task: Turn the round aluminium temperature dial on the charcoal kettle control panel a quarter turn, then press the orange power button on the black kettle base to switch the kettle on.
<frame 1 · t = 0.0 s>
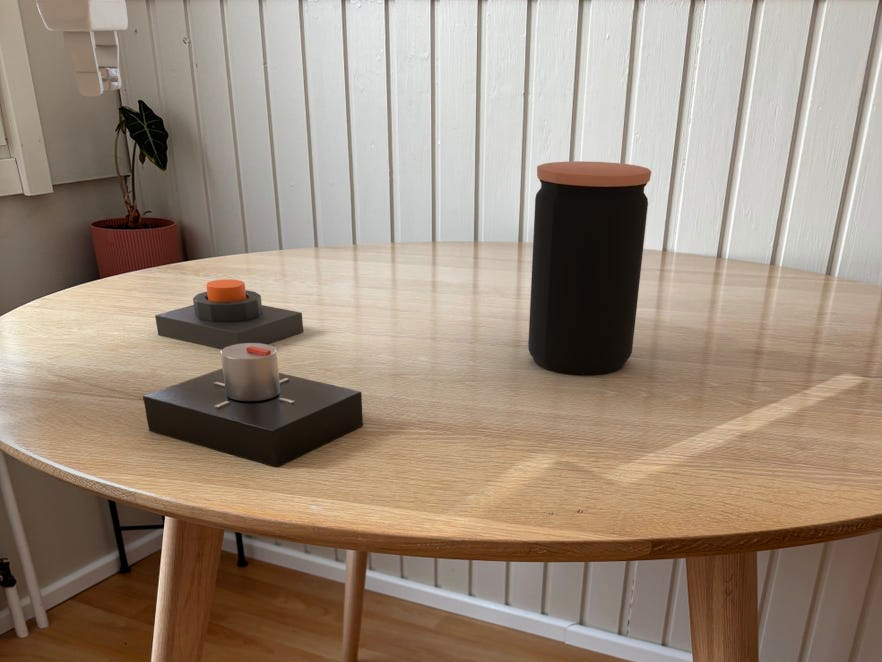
hand: (102, 92, 83), 23 cm above the table, tool pointing down, fingers open, 8 cm apart
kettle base: (231, 334, 103), on the table
coffee jar: (578, 363, 97), on the table
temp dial: (250, 370, 76), point 5 cm above the table, hinge at 0.0°
power button: (226, 291, 100), point 4 cm above the table, slide at 0.1 cm
dial panel: (257, 428, 79), on the table
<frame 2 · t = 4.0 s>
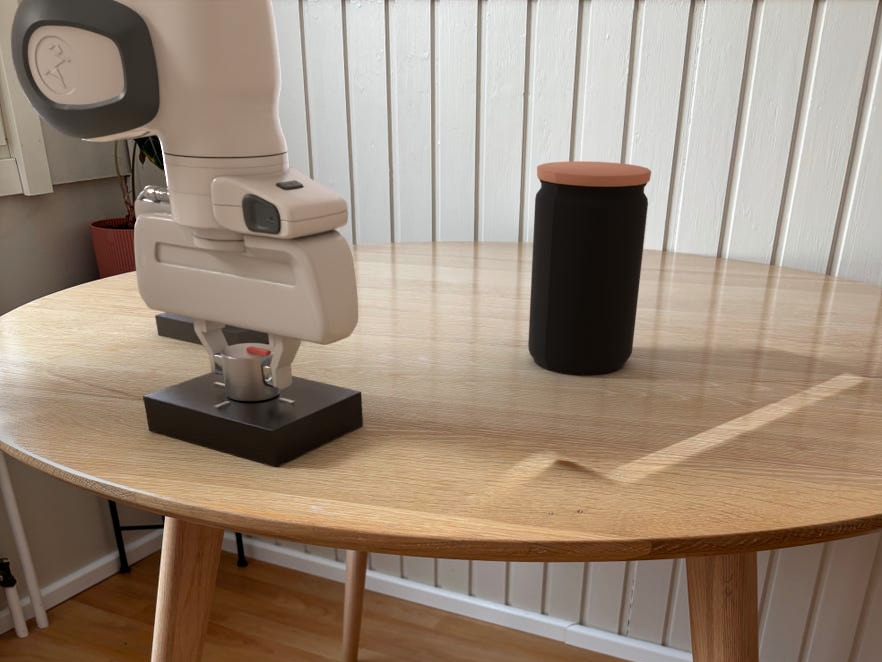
hand: (252, 380, 77), 4 cm above the table, tool pointing down, fingers closed on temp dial, 4 cm apart
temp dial: (250, 370, 76), point 5 cm above the table, hinge at 0.0°, touching gripper
everything else where it was.
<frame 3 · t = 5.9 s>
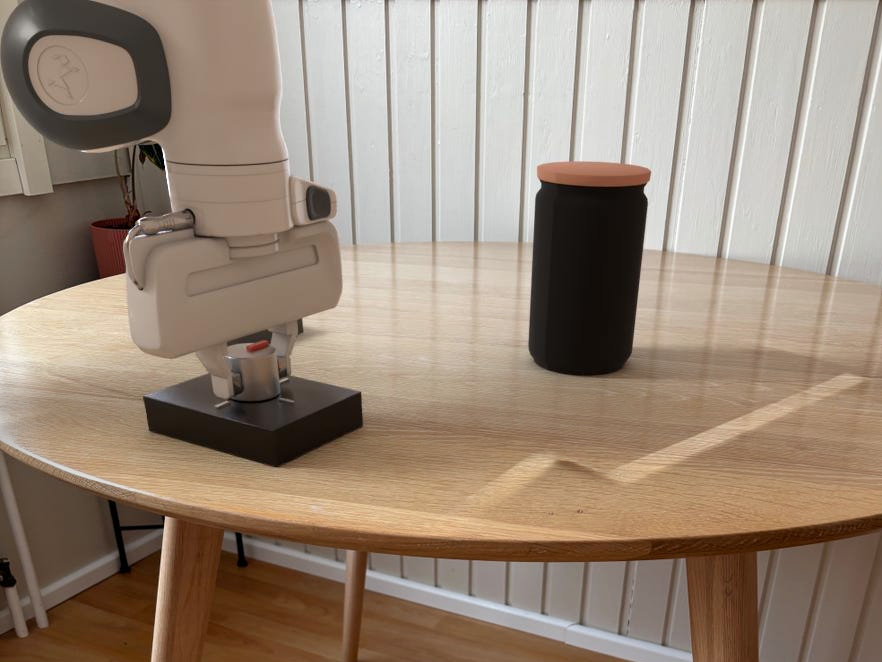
hand: (254, 386, 77), 4 cm above the table, tool pointing down, fingers closed on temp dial, 4 cm apart
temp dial: (250, 370, 76), point 5 cm above the table, hinge at 90.7°, touching gripper
everything else where it was.
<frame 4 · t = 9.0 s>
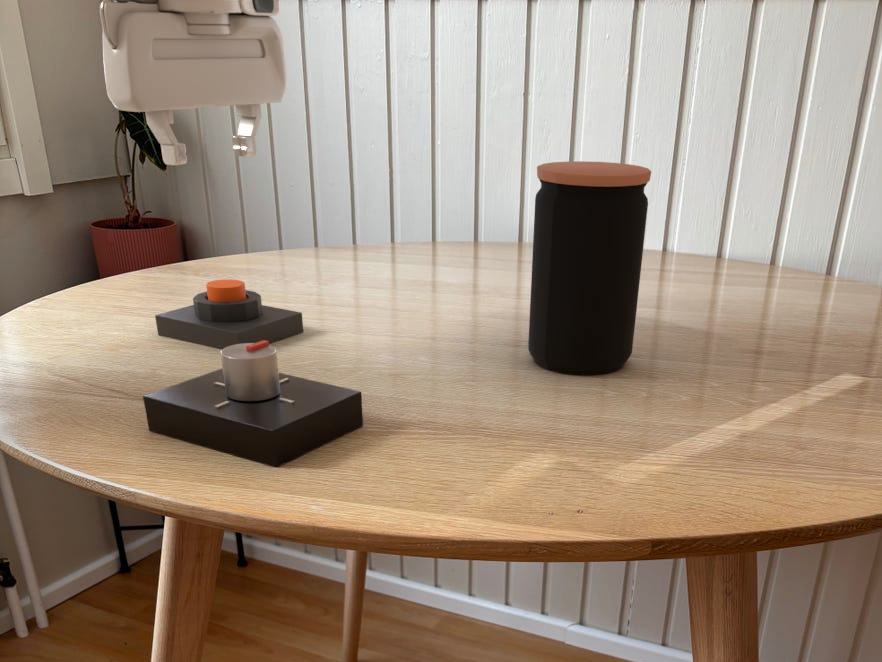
hand: (211, 160, 93), 17 cm above the table, tool pointing down, fingers open, 8 cm apart
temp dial: (250, 370, 76), point 5 cm above the table, hinge at 90.5°
everything else where it was.
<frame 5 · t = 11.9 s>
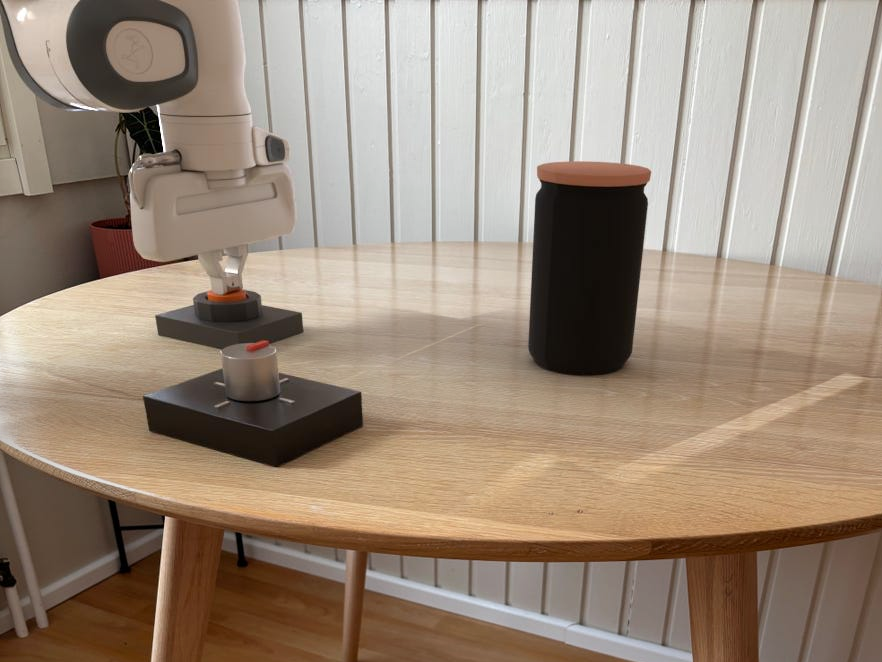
hand: (227, 292, 100), 4 cm above the table, tool pointing down, fingers closed, pressing on power button
power button: (227, 300, 101), point 4 cm above the table, slide at -0.8 cm, touching gripper
everything else where it was.
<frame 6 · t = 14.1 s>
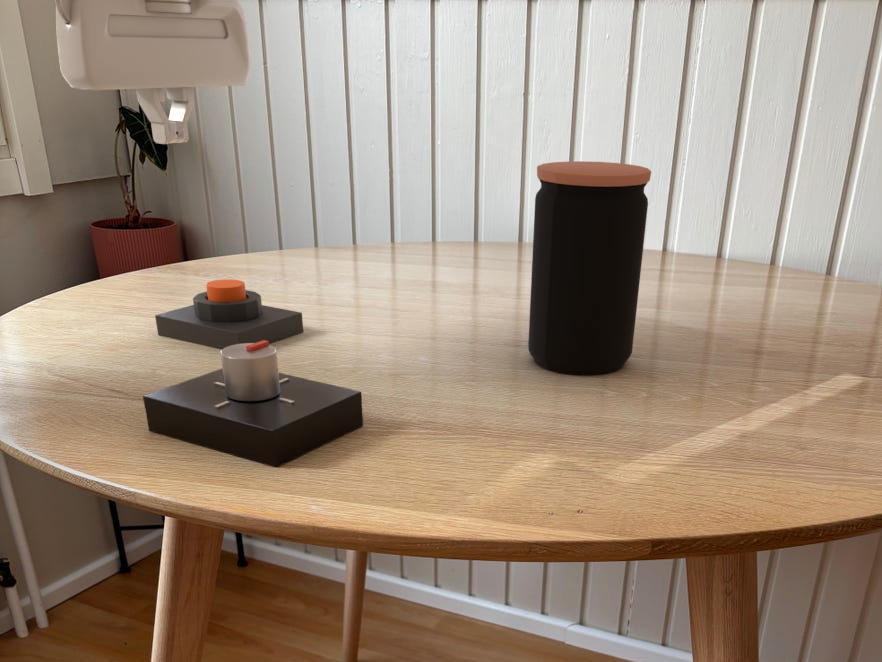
hand: (171, 142, 90), 19 cm above the table, tool pointing down, fingers closed
power button: (226, 291, 100), point 4 cm above the table, slide at 0.1 cm
everything else where it was.
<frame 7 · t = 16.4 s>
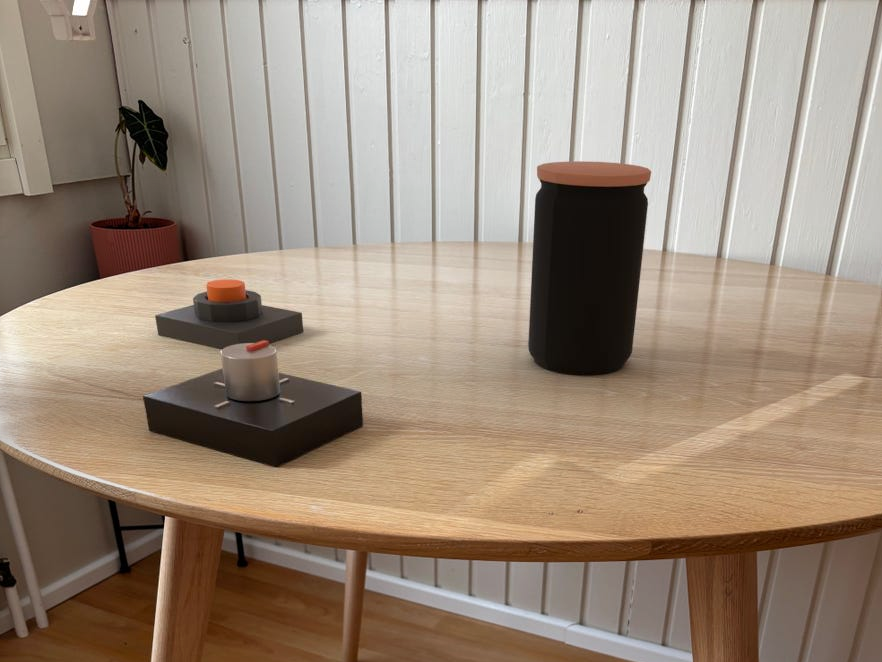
hand: (75, 40, 80), 27 cm above the table, tool pointing down, fingers closed
nothing on the table moved.
at the end: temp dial at +90° (first picture: +0°); power button pushed in 1.0 cm at the most during the clip, back to where it started at the end; power button slide at 0.1 cm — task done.
